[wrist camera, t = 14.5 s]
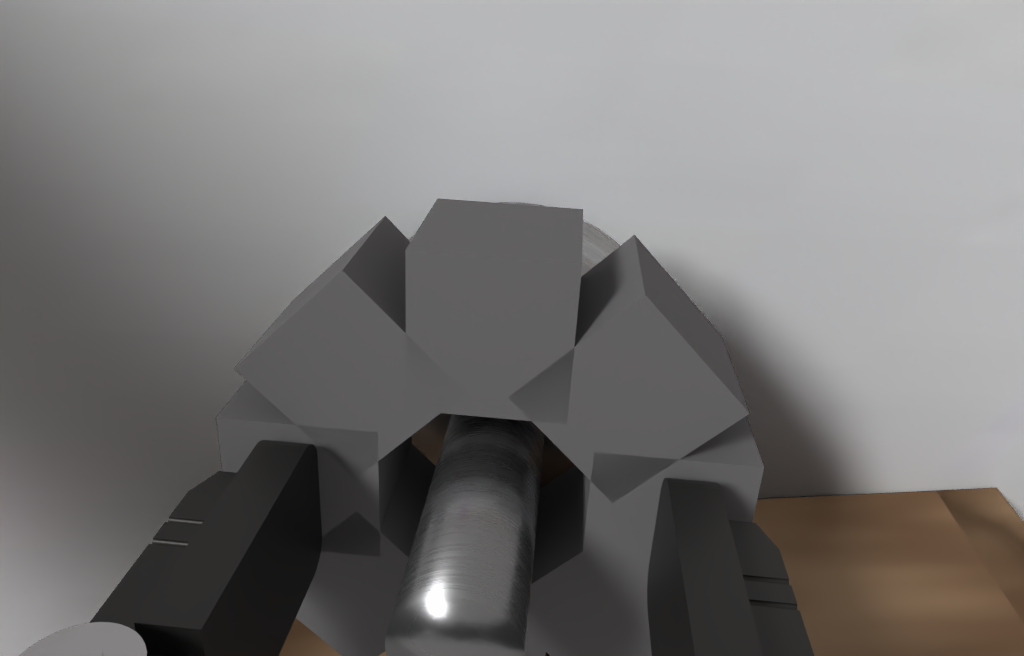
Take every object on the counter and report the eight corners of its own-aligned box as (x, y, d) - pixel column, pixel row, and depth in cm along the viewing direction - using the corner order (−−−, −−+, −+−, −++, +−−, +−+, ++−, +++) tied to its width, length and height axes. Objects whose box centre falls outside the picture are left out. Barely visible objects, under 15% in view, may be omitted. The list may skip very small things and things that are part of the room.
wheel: (262, 185, 12) (194, 233, 10) (765, 223, 12) (805, 281, 10) (294, 572, 15) (246, 671, 13) (690, 612, 15) (708, 721, 13)
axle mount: (364, 190, 15) (162, 398, 8) (681, 214, 15) (772, 453, 8) (371, 455, 18) (222, 796, 10) (642, 480, 17) (683, 850, 10)
